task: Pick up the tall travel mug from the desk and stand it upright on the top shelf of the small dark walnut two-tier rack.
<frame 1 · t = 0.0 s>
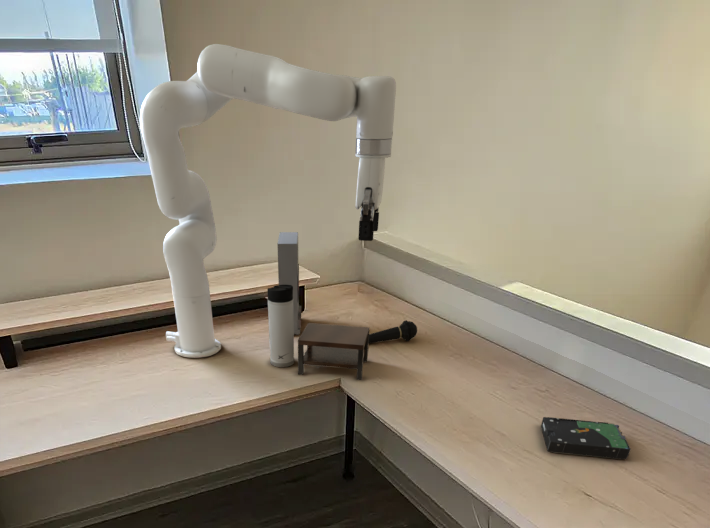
hand: (368, 235, 127), 31 cm above the table, tool pointing down, fingers open, 9 cm apart
rack: (333, 367, 143), on the table
tall grey pillar: (290, 327, 167), on the table
microphone: (382, 342, 157), on the table
travel mug: (282, 363, 146), on the table
disk drive: (581, 444, 113), on the table
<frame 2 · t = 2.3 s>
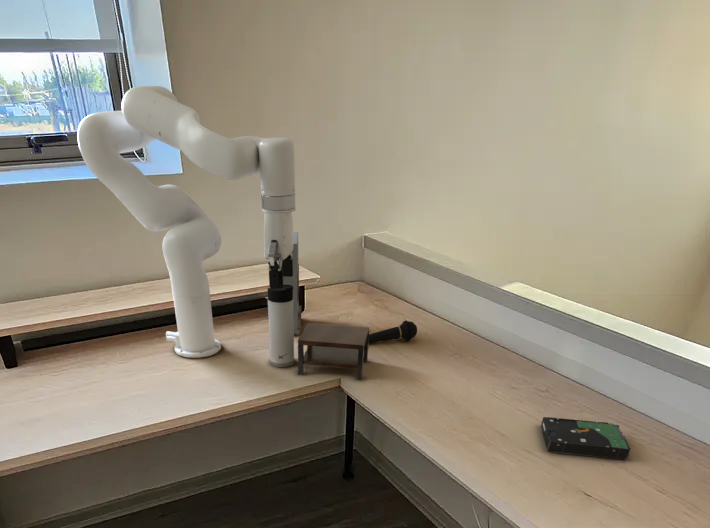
hand: (281, 281, 133), 21 cm above the table, tool pointing down, fingers open, 9 cm apart
nothing on the table moved.
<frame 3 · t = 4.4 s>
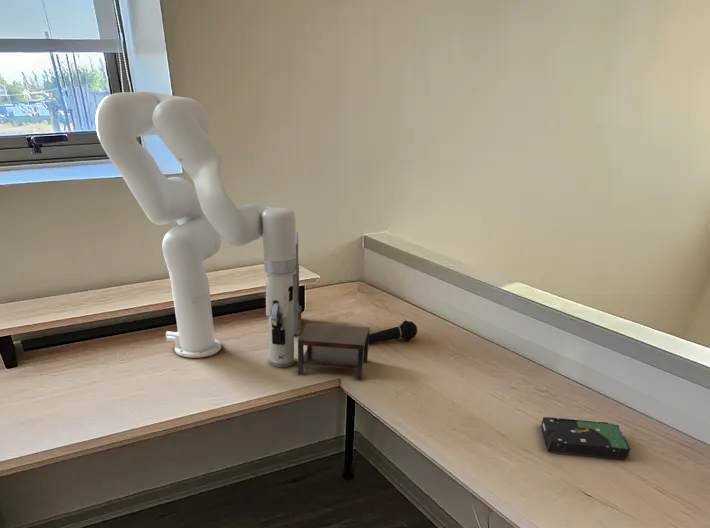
hand: (282, 338, 142), 7 cm above the table, tool pointing down, fingers closed on travel mug, 6 cm apart
travel mug: (282, 363, 146), on the table, touching gripper
everything else where it was.
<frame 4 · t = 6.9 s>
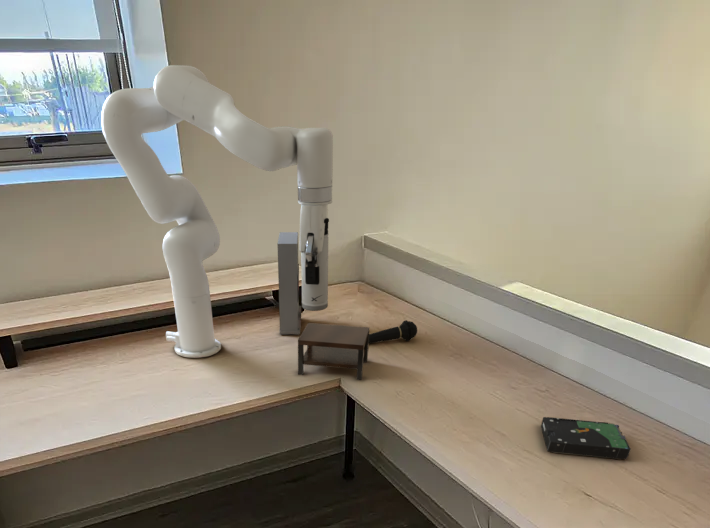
hand: (315, 279, 131), 22 cm above the table, tool pointing down, fingers closed on travel mug, 6 cm apart
travel mug: (315, 307, 135), point 15 cm above the table, touching gripper
everything else where it was.
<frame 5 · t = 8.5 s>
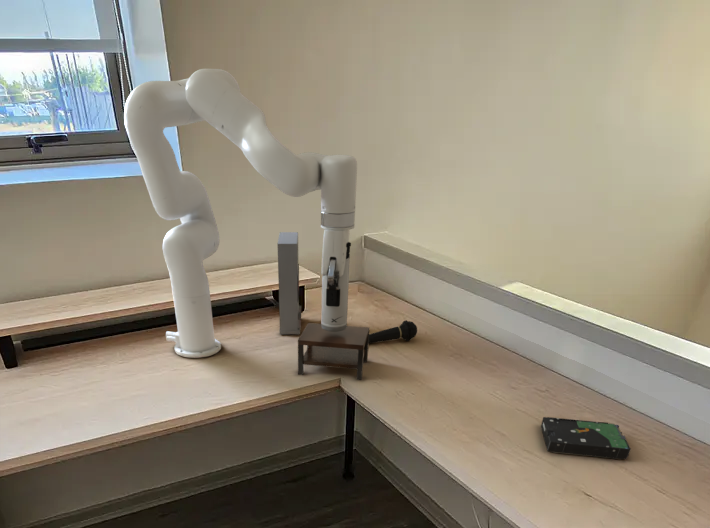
hand: (335, 300, 133), 17 cm above the table, tool pointing down, fingers closed on travel mug, 6 cm apart
travel mug: (334, 328, 137), point 10 cm above the table, touching gripper
everything else where it was.
when the fingers open (16 cm above the table, at t = 9.5 s): travel mug stays where it is, resting on rack.
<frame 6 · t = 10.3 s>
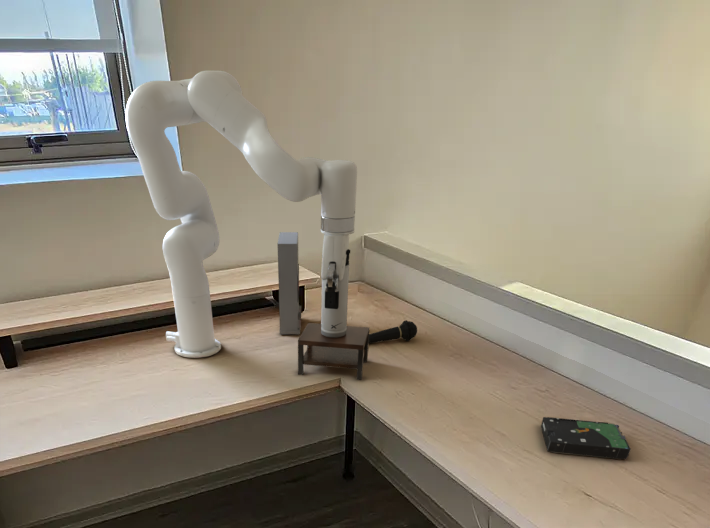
hand: (335, 301, 133), 17 cm above the table, tool pointing down, fingers open, 9 cm apart
travel mug: (334, 334, 138), point 9 cm above the table, touching rack
everything else where it was.
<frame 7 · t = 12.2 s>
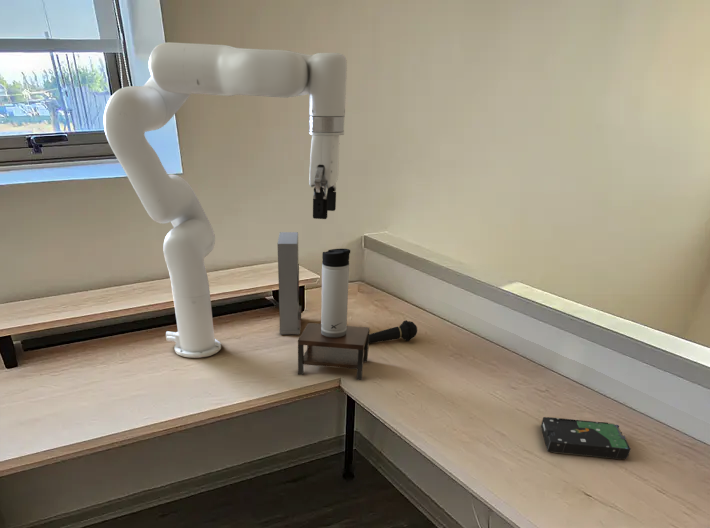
hand: (324, 214, 128), 35 cm above the table, tool pointing down, fingers open, 9 cm apart
nothing on the table moved.
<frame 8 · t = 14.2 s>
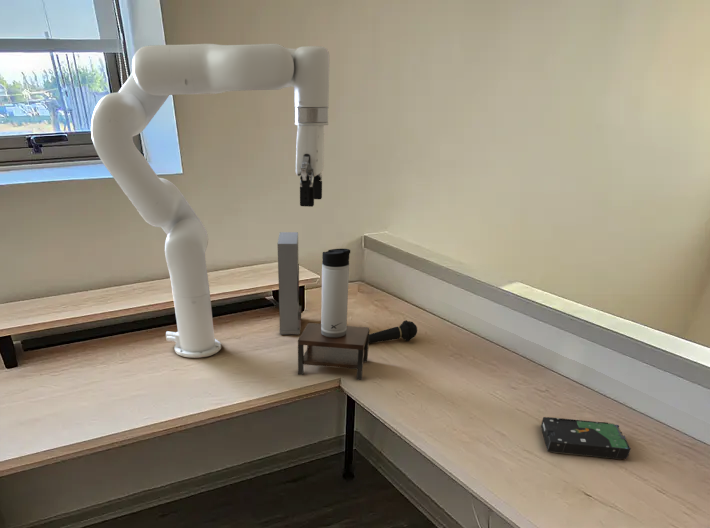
hand: (311, 202, 133), 36 cm above the table, tool pointing down, fingers open, 9 cm apart
nothing on the table moved.
at the end: travel mug inside the target area on the rack (0.1 cm from its centre), point 8.8 cm above the rack's base; travel mug tilted 0°; the gripper is holding nothing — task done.
